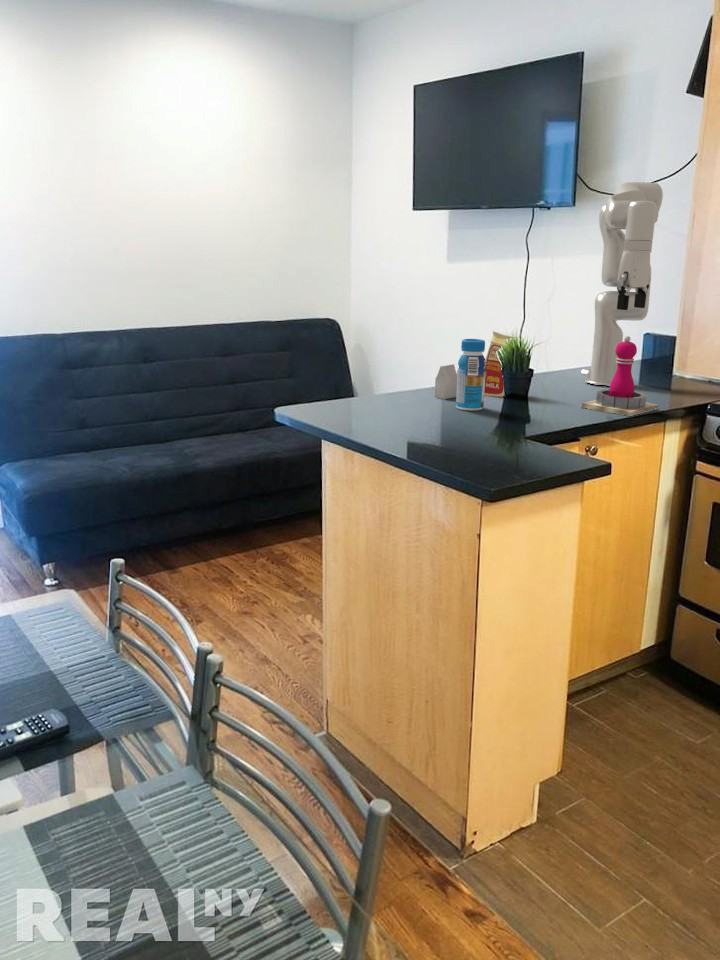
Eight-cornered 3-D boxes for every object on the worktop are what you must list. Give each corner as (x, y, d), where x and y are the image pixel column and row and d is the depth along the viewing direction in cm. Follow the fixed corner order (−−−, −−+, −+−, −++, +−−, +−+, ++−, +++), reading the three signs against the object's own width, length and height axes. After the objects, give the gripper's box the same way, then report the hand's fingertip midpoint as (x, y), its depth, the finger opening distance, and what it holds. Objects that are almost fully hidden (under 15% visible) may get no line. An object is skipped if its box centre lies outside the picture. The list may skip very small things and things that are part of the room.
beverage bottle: (449, 408, 240) (452, 339, 234) (466, 404, 246) (470, 337, 240) (472, 412, 234) (477, 342, 228) (489, 408, 240) (494, 340, 234)
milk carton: (479, 395, 260) (483, 332, 254) (486, 390, 268) (490, 329, 263) (507, 397, 257) (512, 333, 251) (513, 392, 265) (518, 330, 259)
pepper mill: (620, 406, 238) (627, 337, 233) (602, 402, 244) (609, 335, 239) (638, 404, 242) (646, 336, 236) (620, 400, 248) (627, 334, 242)
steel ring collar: (587, 403, 243) (587, 393, 242) (611, 397, 252) (612, 387, 251) (630, 410, 233) (631, 400, 232) (653, 404, 242) (654, 394, 242)
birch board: (581, 407, 243) (582, 402, 243) (609, 401, 254) (610, 396, 253) (630, 416, 232) (631, 411, 232) (657, 409, 243) (658, 404, 242)
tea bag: (457, 396, 257) (458, 364, 255) (444, 399, 253) (445, 367, 250) (447, 394, 260) (449, 363, 257) (434, 397, 255) (436, 365, 252)
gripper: (640, 246, 238) (633, 306, 243) (609, 246, 227) (603, 309, 232) (665, 247, 233) (657, 308, 238) (634, 247, 221) (627, 311, 227)
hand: (630, 308), depth 235 cm, fingers open, 9 cm apart
